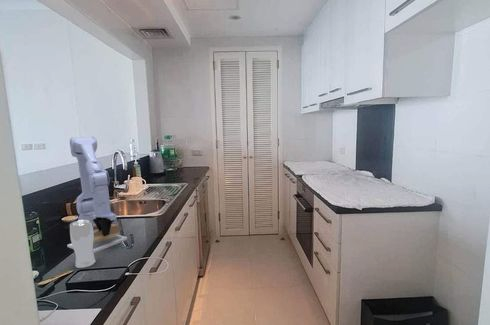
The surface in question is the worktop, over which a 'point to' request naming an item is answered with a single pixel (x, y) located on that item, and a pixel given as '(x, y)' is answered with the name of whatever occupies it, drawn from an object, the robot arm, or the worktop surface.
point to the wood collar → (113, 232)
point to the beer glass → (83, 242)
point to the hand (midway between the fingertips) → (104, 235)
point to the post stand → (105, 243)
